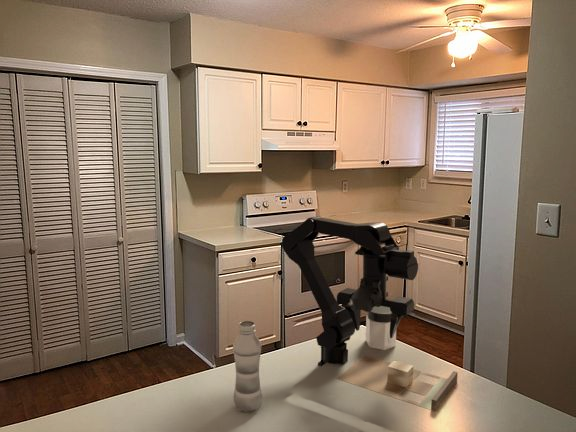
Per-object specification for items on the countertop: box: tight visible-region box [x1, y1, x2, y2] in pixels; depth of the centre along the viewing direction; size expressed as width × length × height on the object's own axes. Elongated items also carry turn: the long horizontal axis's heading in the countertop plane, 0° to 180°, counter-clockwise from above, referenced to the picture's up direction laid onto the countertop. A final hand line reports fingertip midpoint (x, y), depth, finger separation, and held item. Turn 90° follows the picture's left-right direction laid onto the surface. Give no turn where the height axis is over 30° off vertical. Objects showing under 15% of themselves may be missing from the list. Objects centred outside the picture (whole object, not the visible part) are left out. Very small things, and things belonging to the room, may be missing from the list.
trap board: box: [336, 355, 459, 412], centre depth 117 cm, size 25×16×4 cm, turn 54°
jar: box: [365, 306, 397, 351], centre depth 138 cm, size 9×8×12 cm
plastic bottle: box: [232, 320, 263, 413], centre depth 106 cm, size 6×7×20 cm
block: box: [387, 360, 414, 388], centre depth 116 cm, size 5×4×4 cm
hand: (374, 333), depth 119 cm, fingers open, 9 cm apart
